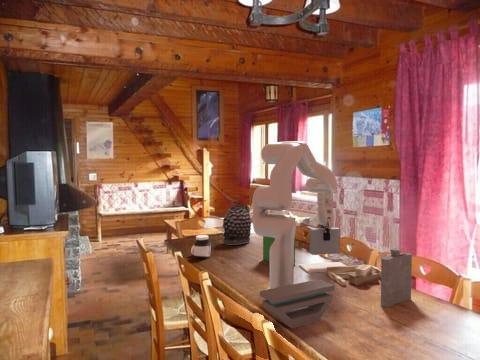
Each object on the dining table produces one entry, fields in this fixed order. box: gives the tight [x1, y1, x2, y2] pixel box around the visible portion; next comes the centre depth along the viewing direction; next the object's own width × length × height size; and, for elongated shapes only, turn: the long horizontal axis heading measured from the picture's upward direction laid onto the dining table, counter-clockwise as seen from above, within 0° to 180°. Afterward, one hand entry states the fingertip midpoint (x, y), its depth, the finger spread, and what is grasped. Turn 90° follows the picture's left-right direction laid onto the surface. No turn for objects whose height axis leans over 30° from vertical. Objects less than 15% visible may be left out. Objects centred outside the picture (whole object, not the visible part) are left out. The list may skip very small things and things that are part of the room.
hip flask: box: [380, 247, 413, 308], centre depth 147 cm, size 16×4×20 cm, turn 123°
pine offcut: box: [355, 263, 372, 277], centre depth 171 cm, size 4×9×3 cm, turn 143°
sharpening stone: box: [259, 278, 336, 329], centre depth 131 cm, size 25×8×11 cm, turn 120°
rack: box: [326, 264, 381, 287], centre depth 176 cm, size 17×22×4 cm
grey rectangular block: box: [309, 226, 341, 256], centre depth 192 cm, size 4×14×12 cm, turn 101°
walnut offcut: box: [348, 272, 380, 287], centre depth 171 cm, size 5×12×4 cm, turn 114°
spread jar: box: [190, 234, 212, 260], centre depth 216 cm, size 12×11×12 cm
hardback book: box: [262, 217, 296, 266], centre depth 203 cm, size 18×7×24 cm, turn 31°
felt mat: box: [298, 261, 347, 274], centre depth 193 cm, size 12×22×1 cm, turn 100°
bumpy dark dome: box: [222, 204, 252, 246], centre depth 250 cm, size 21×15×25 cm
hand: (324, 239), depth 192 cm, fingers closed on grey rectangular block, 4 cm apart
